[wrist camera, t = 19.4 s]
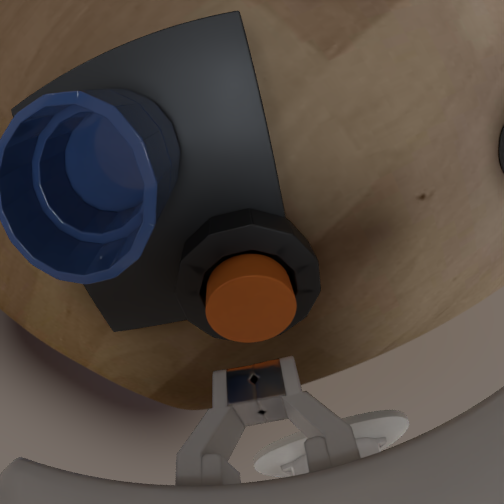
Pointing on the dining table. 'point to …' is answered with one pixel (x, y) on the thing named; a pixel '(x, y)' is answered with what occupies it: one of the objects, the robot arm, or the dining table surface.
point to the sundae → (501, 149)
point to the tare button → (249, 298)
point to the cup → (86, 181)
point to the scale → (198, 173)
